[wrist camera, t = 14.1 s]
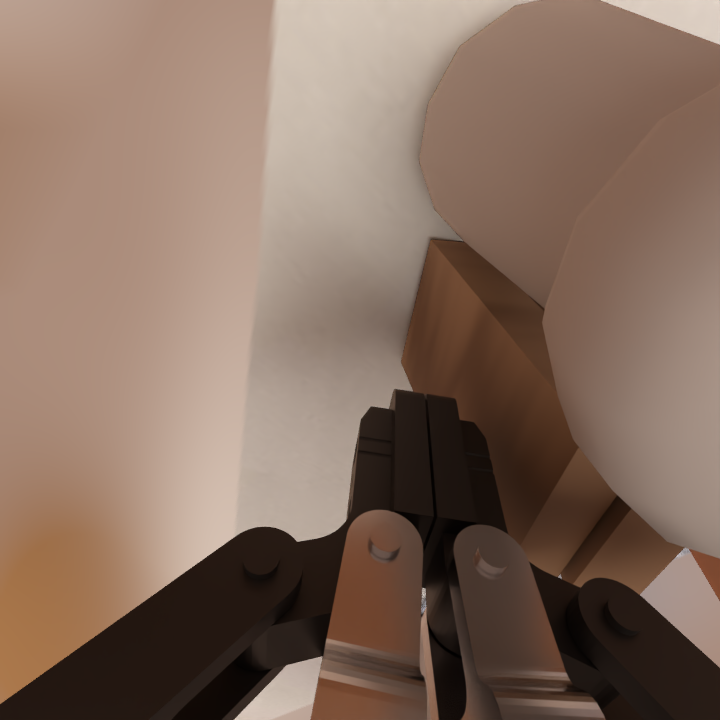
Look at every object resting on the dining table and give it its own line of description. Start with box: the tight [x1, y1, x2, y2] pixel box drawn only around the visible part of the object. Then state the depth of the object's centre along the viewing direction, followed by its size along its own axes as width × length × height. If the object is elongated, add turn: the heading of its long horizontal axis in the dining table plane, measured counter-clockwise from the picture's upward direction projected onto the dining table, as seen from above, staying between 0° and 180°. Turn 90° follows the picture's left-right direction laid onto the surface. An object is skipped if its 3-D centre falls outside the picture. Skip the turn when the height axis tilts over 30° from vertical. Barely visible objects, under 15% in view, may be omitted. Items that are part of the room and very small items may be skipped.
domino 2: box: [528, 295, 685, 595], centre depth 13 cm, size 5×2×9 cm, turn 172°
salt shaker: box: [419, 0, 720, 559], centre depth 8 cm, size 6×6×13 cm
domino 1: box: [401, 239, 617, 577], centre depth 13 cm, size 5×2×9 cm, turn 171°
